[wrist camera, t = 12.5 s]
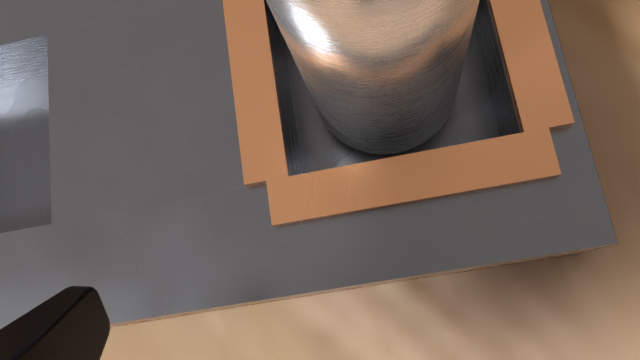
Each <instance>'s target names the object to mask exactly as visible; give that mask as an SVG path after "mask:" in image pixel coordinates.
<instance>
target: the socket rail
mask: <svg viewBox="0 0 640 360" xmlns="http://www.w3.org/2000/svg"><path fill="white" fill-rule="evenodd" d="M614 244H618V242H617V239H616V235H615V232H614V228H613V225H612V221H611V218H610V214H609V211H608V208H607V204H606V201H605V197H604V194H603V190H602V187H601V183H600V180H599V176H598V173H597V169H596V166H595V163H594V159H593V156H592V152H591V149H590V145H589V142H588V138H587V135H586V131H585V128H584V124H583V121H582V118H581V114H580V111H579V107H578V104H577V100H576V97H575V93H574V90H573V86H572V83H571V79H570V76H569V73H568V69H567V66H566V62H565V59H564V55H563V52H562V48H561V45H560V41H559V38H558V34H557V31H556V28H555V24H554V21H553V17H552V14H551V10H550V7H549V3H548V0H479V4H478V8H477V12H476V16H475V21H474V25H473V29H472V33H471V37H470V41H469V45H468V49H467V53H466V57H465V61H464V65H463V69H462V73H461V77H460V81H459V85H458V89H457V93H456V97H455V102H454V105H453V107H452V110H451V112H450V114H449V116H448V118H447V120H446V121H445V123H444V124H443V126H442V127H441V128H440V129H439V130H438V131H437V132H436V133H435V134H434V135H433V136H432V137H431V138H430V139H428V140H427V141H425V142H424V143H422V144H421V145H419V146H417V147H415V148H412V149H410V150H407V151H404V152H399V153H394V154H372V153H367V152H363V151H360V150H356V149H354V148H352V147H350V146H348V145H346V144H345V143H343V142H342V141H340V140H339V139H338V138H337V137H336V136H334V135H333V134H332V132H331V131H330V130H329V129H328V128H327V126H326V125H325V123H324V122H323V120H322V118H321V116H320V114H319V112H318V110H317V107H316V105H315V103H314V101H313V99H312V97H311V95H310V93H309V90H308V88H307V86H306V84H305V82H304V80H303V78H302V76H301V73H300V71H299V69H298V67H297V65H296V63H295V61H294V59H293V56H292V54H291V52H290V50H289V48H288V46H287V44H286V42H285V40H284V37H283V35H282V33H281V31H280V29H279V27H278V25H277V23H276V20H275V18H274V16H273V14H272V12H271V10H270V8H269V6H268V3H267V1H266V0H0V329H2V328H3V327H5V326H6V325H8V324H10V323H11V322H13V321H14V320H16V319H17V318H19V317H21V316H22V315H24V314H25V313H27V312H29V311H30V310H32V309H33V308H35V307H37V306H38V305H40V304H41V303H43V302H45V301H46V300H48V299H49V298H51V297H53V296H54V295H56V294H57V293H59V292H61V291H62V290H64V289H65V288H67V287H70V286H91V287H94V288H95V289H96V290H97V291H98V293H99V296H100V298H101V300H102V303H103V305H104V308H105V310H106V312H107V315H108V317H109V320H110V327H114V326H121V325H127V324H133V323H140V322H146V321H152V320H159V319H165V318H171V317H178V316H184V315H190V314H197V313H203V312H209V311H216V310H222V309H228V308H235V307H241V306H247V305H254V304H260V303H266V302H273V301H279V300H285V299H292V298H298V297H304V296H311V295H317V294H323V293H330V292H336V291H342V290H349V289H355V288H361V287H368V286H374V285H380V284H387V283H393V282H399V281H406V280H412V279H418V278H425V277H431V276H437V275H444V274H450V273H456V272H463V271H469V270H475V269H482V268H488V267H494V266H501V265H507V264H513V263H520V262H526V261H532V260H539V259H545V258H551V257H558V256H564V255H570V254H577V253H583V252H587V251H590V250H594V249H598V248H602V247H606V246H610V245H614Z"/></svg>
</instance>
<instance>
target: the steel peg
mask: <svg viewBox="0 0 640 360" xmlns="http://www.w3.org/2000/svg"><path fill="white" fill-rule="evenodd" d="M266 1H267V3H268V6H269V8H270V10H271V12H272V14H273V16H274V18H275V20H276V23H277V25H278V27H279V29H280V31H281V33H282V35H283V37H284V40H285V42H286V44H287V46H288V48H289V50H290V52H291V54H292V56H293V59H294V61H295V63H296V65H297V67H298V69H299V71H300V73H301V76H302V78H303V80H304V82H305V84H306V86H307V88H308V90H309V93H310V95H311V97H312V99H313V101H314V103H315V105H316V107H317V110H318V112H319V114H320V116H321V118H322V120H323V122H324V123H325V125H326V126H327V128H328V129H329V130H330V131H331V132H332V134H333V135H334V136H336V137H337V138H338V139H339V140H340V141H342V142H343V143H345V144H346V145H348V146H350V147H352V148H354V149H356V150H360V151H363V152H367V153H372V154H394V153H399V152H404V151H407V150H410V149H412V148H415V147H417V146H419V145H421V144H422V143H424V142H425V141H427V140H428V139H430V138H431V137H432V136H433V135H434V134H435V133H436V132H437V131H438V130H439V129H440V128H441V127H442V126H443V124H444V123H445V121H446V120H447V118H448V116H449V114H450V112H451V110H452V107H453V105H454V102H455V97H456V93H457V89H458V85H459V81H460V77H461V73H462V69H463V65H464V61H465V57H466V53H467V49H468V45H469V41H470V37H471V33H472V29H473V25H474V21H475V16H476V12H477V8H478V4H479V0H266Z"/></svg>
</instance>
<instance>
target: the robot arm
mask: <svg viewBox="0 0 640 360" xmlns="http://www.w3.org/2000/svg"><path fill="white" fill-rule="evenodd" d="M109 331H110V320H109V317H108V315H107V312H106V310H105V308H104V305H103V303H102V300H101V298H100V296H99V293H98V291H97V290H96V289H95V288H94V287H91V286H70V287H67V288H65V289H64V290H62V291H61V292H59V293H57V294H56V295H54V296H53V297H51V298H49V299H48V300H46V301H45V302H43V303H41V304H40V305H38V306H37V307H35V308H33V309H32V310H30V311H29V312H27V313H25V314H24V315H22V316H21V317H19V318H17V319H16V320H14V321H13V322H11V323H10V324H8V325H6V326H5V327H3V328H2V329H0V360H100V358H101V355H102V352H103V349H104V347H105V344H106V341H107V338H108V336H109Z"/></svg>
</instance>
